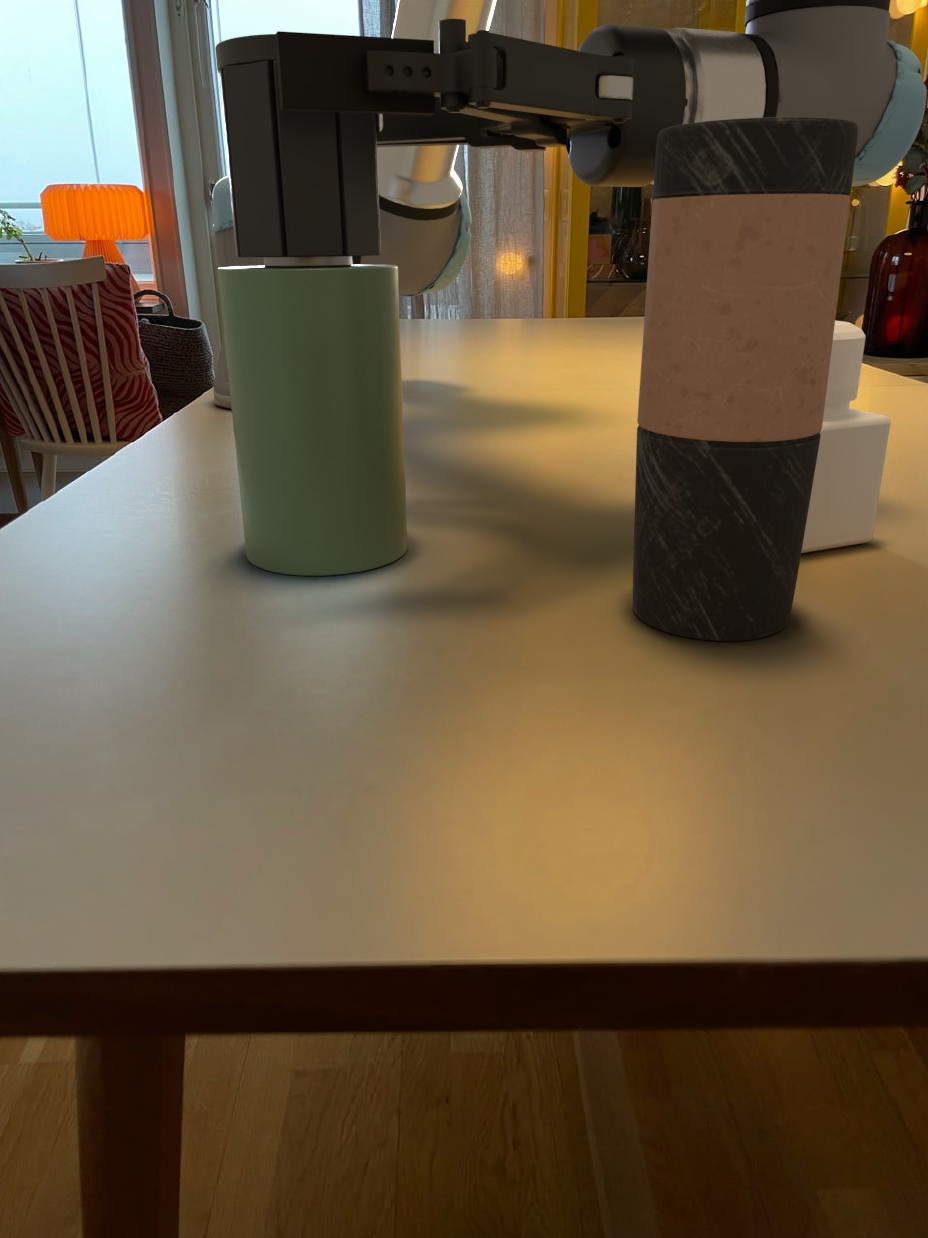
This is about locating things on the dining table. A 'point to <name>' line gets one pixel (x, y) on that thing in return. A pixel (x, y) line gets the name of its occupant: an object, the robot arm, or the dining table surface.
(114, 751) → the dining table surface
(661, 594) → the travel mug
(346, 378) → the flask
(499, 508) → the dining table surface
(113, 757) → the dining table surface
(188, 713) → the dining table surface
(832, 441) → the medicine bottle
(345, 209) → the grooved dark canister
